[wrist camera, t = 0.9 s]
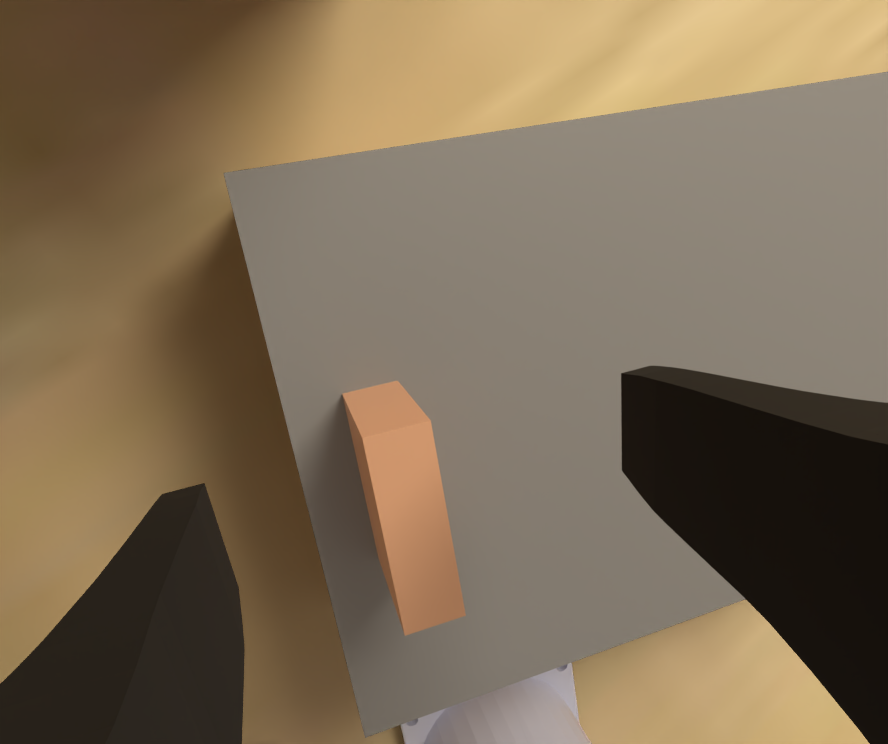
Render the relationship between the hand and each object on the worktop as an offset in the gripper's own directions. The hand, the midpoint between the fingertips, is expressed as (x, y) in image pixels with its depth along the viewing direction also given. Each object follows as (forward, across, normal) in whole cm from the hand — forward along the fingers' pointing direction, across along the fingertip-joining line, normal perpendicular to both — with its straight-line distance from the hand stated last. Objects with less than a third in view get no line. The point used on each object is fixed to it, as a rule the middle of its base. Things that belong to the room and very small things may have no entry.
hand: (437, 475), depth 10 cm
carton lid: (+6, -9, +4) cm, 12 cm away
